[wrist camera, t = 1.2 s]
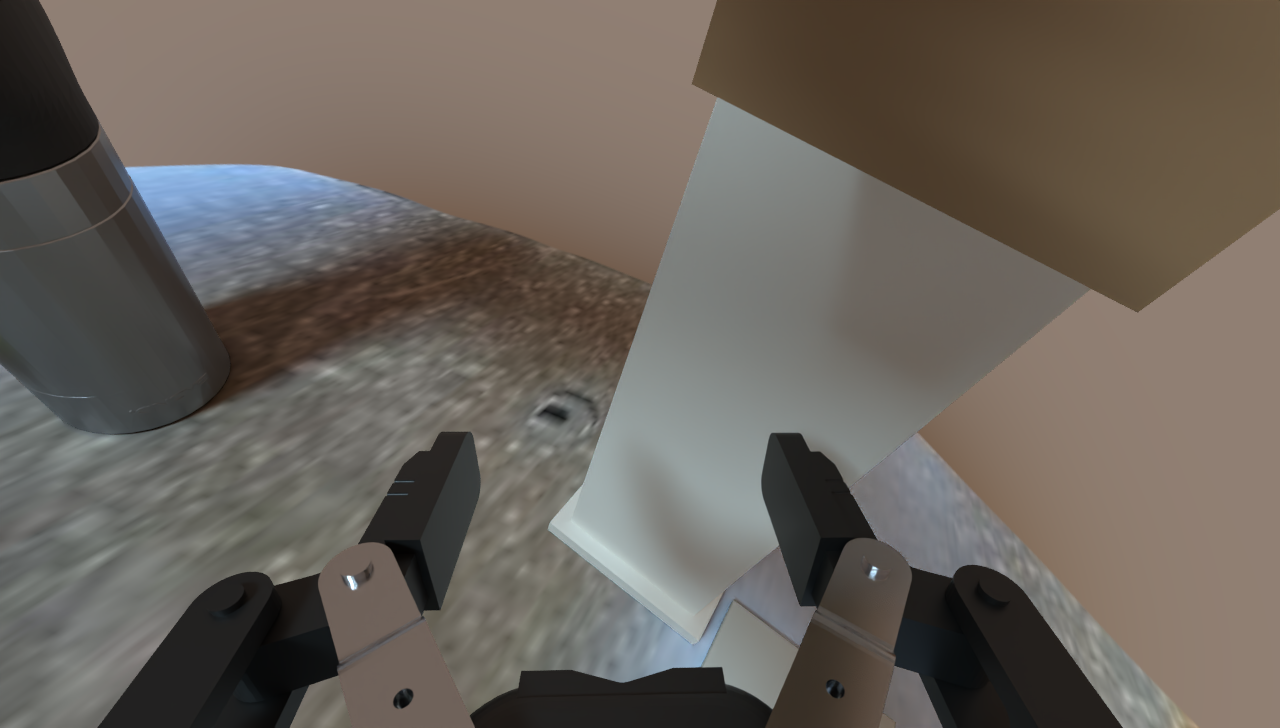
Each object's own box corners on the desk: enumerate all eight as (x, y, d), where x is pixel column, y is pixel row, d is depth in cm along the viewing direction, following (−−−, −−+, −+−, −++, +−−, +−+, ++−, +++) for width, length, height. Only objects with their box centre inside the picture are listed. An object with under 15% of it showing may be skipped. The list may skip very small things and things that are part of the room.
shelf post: (547, 529, 34) (708, -58, 11) (640, 422, 42) (848, -52, 18) (693, 645, 31) (1321, 210, 8) (762, 507, 39) (1182, 86, 16)
